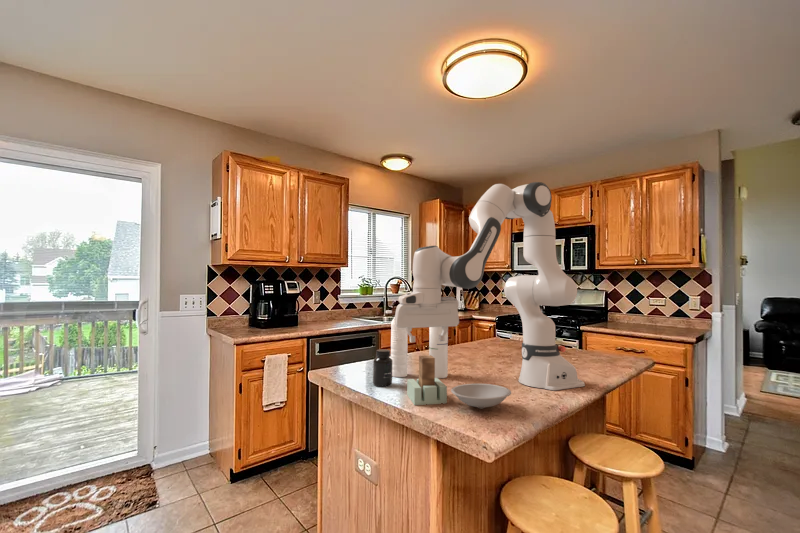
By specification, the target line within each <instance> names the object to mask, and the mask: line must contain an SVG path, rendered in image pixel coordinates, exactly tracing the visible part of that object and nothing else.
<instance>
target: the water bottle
mask: <svg viewBox="0 0 800 533" xmlns="http://www.w3.org/2000/svg"><path fill="white" fill-rule="evenodd" d="M392 313H393V310H389V309H388V310H385V314H392ZM390 328H391V329H390V358H391V359H392V378H393V377H394V378H405V377H407V376H408V356H409V355H408V350H409V349H408V348H409V347H408V346H409V345H408V341H409V340H408V337H409V335H408V333H407V331H406V328H398V327H397V326H396V325H395V316H394V317H393V318H392V320H391V323H390Z"/></svg>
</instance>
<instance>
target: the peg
mask: <svg viewBox="0 0 800 533" xmlns="http://www.w3.org/2000/svg"><path fill="white" fill-rule="evenodd" d="M418 379H419V386H420V387H421V397H422V398H423V386H426V385H435V358H434V357H433V356H431V355H429V354H428V355H418Z"/></svg>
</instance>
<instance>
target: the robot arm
mask: <svg viewBox="0 0 800 533" xmlns="http://www.w3.org/2000/svg"><path fill="white" fill-rule="evenodd" d="M552 196H553V195H552V192H551V189H550V188H549V186H548V185H547V184H546V183H545V182H540V181H533V182H529V183H526V184H522V185H518V186H516V187H515V188H511V187H510V186H508V185H506V184H504V183H495V184H493V185H492V186H490V187H489V188H488V189H486V191H485V192H484V193H483V194H482V195H481V196H480V198H479V199H478V200H477V201H476V204H475V205H474V206H473V207H472V209H471V211H470V214H469V215H468V216H469V217H468V222H469V225H470V227H471V229H472V230H473V231H474V232H475V233H476V234H477V235H476V237H475V239H474V241H472V242H473V243H472V244H471V246H470V248H469V250H468V251H467V252H465V253H464V254H462V255H459V256H457V255H456V256H452V255H451V254H448V253H446V252H444V251H443V250H442V249H440V247H439V246H437V245H428V246H423V247H422V246H421V247H418V248H417V249H416V250H415V251H414V254H413V257H412V258H413V259H412V276H413V284H412V291H411V292H409V293H406V294H403V295H400V296H398V299H397V300H398V303H399V304H398V305H397V306H396V309H395V315H394V317H395V325H396V326H397V327H398V328H406V331H407V334H408V335H407V336H408V337H409V342H410V343H416V336H415V335H413V334H412V331H413V330H412V329H414V328H429V327H442V329H443V332H442V334H441V335H439V341H445V335H446V333H447V331H448V332H449V327H457V326H459V324H460V318H459V312H458V311H459V300H458V299H457V298H455V297H453V296H442V286H446V287H451V288H452V287H453V288H454V287H455V288H462V289H466V290H469V289H470V290H471V289H474V288H475V287H477V286H478V285H479V284H480V283H481V281H482V279H483V276H484V272H485V266H486V264H487V261H488V260H489V257H490V255H491V253H492V251H493V249H494V248H495V245H496V243H497V241H498V239H499V236H500V234H501V231H502V224H504V221H505V220H514V219H522V221H523V225H524V226H523V239H522V240H523V242H522V244H523V248H522V249H523V250H522V252H523V253H522V254H523V255H522V256H523V259H524V261H526V262H527V263H528V264H530V265H532V266H534V267H536V269H537V273H538V274H536V275H535V274H533V275H532V274H531V275H530V274H529V275H528V274H521V275H516V276H511V277H509V278H508V279H507V280H506V282H505V283H504V287H503V293H504V295H505V298H506V299H507V300H508V301H509V302H510V303H511V304H512V305H513V306H514V308H515V309H516V310H517V312H518V314H519V316H520V319H521V323H522V324H521V325H522V342H521V358H522V362H521V368H520V373H519V378H518V379H517V380H518V383H520V384H522V385H525V386H529V387H532V388H539V389H546V390H550V391H560V390H568V389H575V388H580V387H581V388H582V387H585V385H586V383H585V382H584V380H581V379H580V378H578V372H577V368H576V367H575V366H574V365H573V364H572V362H569V361H568V360H567V359H566V358H565V357H564V356H562V355H561V352H562V353H565V352H566V351H567V348H566V347H565V346H564V345H558V344H556V324H555V322H554V321H553V319H552V318H550V317H549V316H547V315H546V314H544V313H543V312H542V310H541V308H540V306H548V307H549V306H550V307H560V306H569V305H571V304H572V303H573V302H574V301H575V300H576V298H577V295H578V287H577V284H576V282H575V281H574V280H573V278H572V277H570V276H569V275H568V274H566V273H565V272H564V271H563V269H562V268H561V266H560V264H559V262H558V258H557V248H556V225H555V224H556V222H555V219H554V213H553V211H552V210H551V206H552V200H553V199H552V198H553V197H552Z"/></svg>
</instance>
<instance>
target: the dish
mask: <svg viewBox="0 0 800 533" xmlns="http://www.w3.org/2000/svg"><path fill="white" fill-rule="evenodd" d="M450 392H451V393H452V395H454V396H455V397H456V398H457V399H459V401H460V402H462V403H464V405H467V406H470V407H475V408H477V409H485V408H491V407H495V406H497V405H499V404H501V403H502V402H503V401H505V400H506V398H508V397H509V396H511V395H512V390H511V389H509V388H508V387H504V386H501V385H496V384H492V383H491V384H490V383H465V384H460V385H459V384H458V385H456V386H453V387H452V388H451V389H450Z"/></svg>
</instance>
